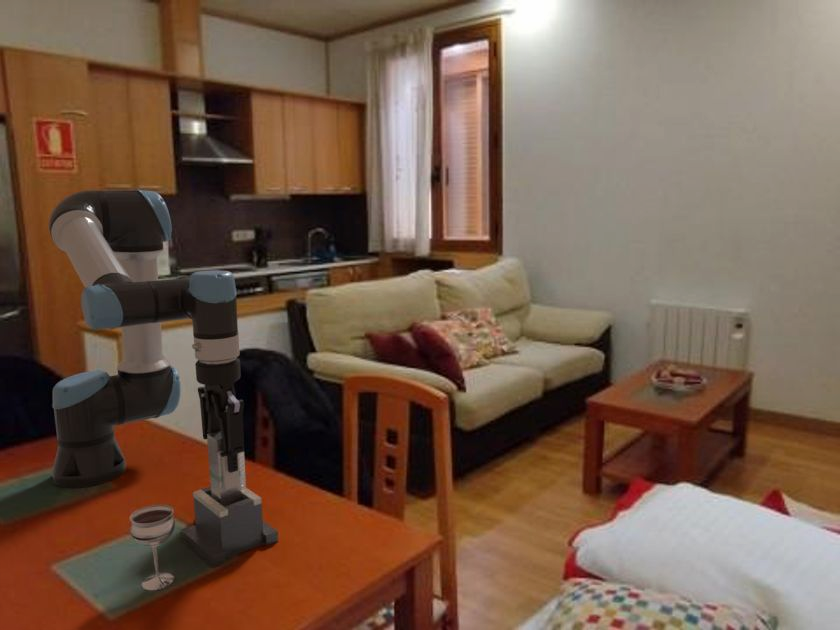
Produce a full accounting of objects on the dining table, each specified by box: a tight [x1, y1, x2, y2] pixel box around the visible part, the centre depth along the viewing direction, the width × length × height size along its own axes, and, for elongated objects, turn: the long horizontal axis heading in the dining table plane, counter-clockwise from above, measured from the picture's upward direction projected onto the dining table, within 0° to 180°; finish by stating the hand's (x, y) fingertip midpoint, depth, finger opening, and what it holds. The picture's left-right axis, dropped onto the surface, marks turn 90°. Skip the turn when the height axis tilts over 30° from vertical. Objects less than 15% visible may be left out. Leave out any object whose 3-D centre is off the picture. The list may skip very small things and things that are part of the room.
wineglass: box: [129, 504, 176, 591], centre depth 107 cm, size 7×7×12 cm
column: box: [206, 431, 242, 507], centre depth 119 cm, size 7×4×20 cm, turn 42°
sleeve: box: [180, 485, 279, 568], centre depth 120 cm, size 13×13×9 cm
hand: (225, 482), depth 118 cm, fingers closed on column, 4 cm apart
